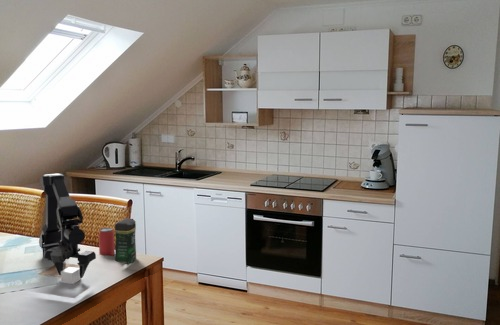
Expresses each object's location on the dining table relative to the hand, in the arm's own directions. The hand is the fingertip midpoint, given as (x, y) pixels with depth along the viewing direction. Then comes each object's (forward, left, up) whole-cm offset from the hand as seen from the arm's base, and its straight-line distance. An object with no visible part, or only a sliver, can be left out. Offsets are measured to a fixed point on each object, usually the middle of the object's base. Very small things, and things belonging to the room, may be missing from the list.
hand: (71, 276), depth 172 cm
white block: (0, 0, -3) cm, 3 cm away
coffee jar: (+7, +28, -3) cm, 29 cm away
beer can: (-5, +32, -3) cm, 33 cm away
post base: (-10, +8, -3) cm, 13 cm away
